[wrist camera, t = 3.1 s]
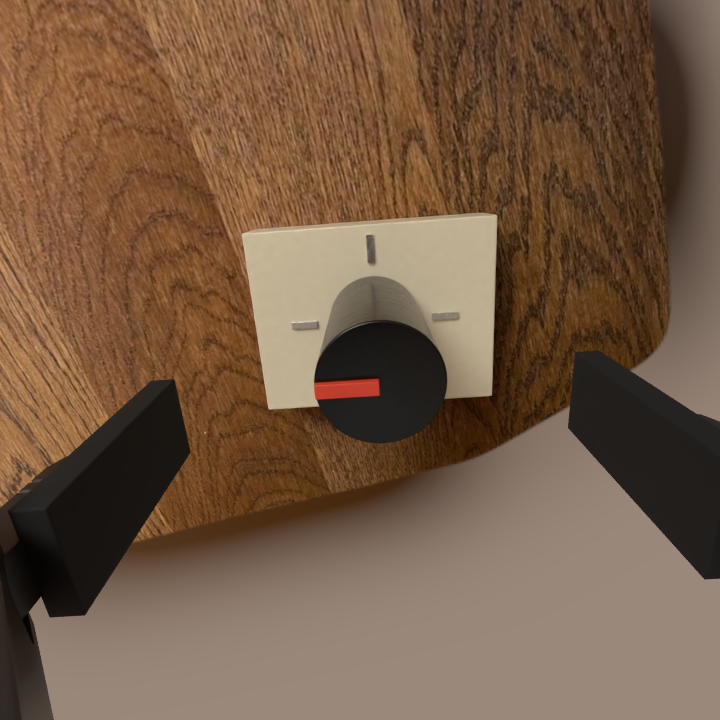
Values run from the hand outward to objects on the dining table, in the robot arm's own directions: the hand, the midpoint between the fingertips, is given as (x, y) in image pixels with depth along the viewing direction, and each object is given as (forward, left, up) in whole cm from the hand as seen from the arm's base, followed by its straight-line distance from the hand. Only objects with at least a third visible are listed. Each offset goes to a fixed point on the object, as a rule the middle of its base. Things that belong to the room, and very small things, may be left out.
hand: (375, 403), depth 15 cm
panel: (0, 0, -13) cm, 13 cm away
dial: (0, 0, -10) cm, 10 cm away
